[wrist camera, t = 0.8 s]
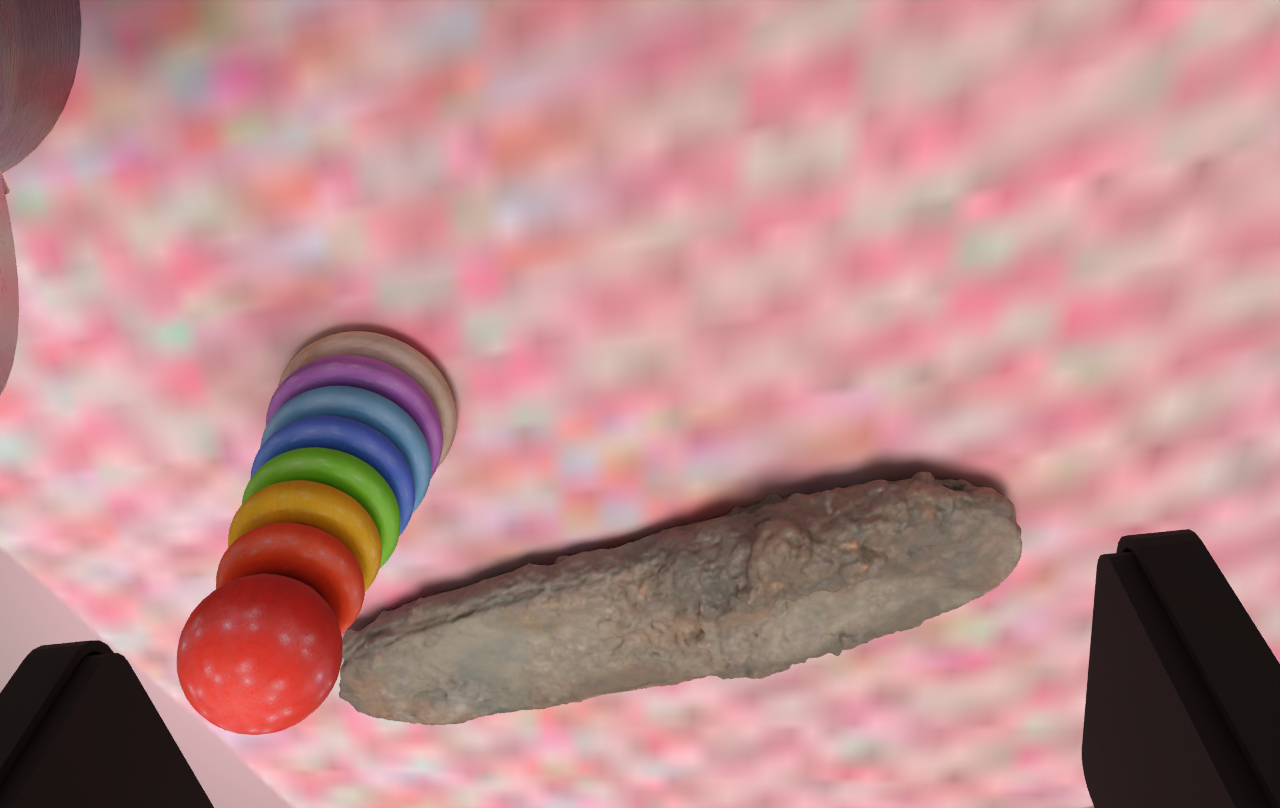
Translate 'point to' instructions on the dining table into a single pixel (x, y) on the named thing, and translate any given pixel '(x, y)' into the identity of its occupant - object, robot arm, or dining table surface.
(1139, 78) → the dining table surface
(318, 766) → the dining table surface
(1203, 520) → the dining table surface
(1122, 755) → the robot arm
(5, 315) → the cooker lid
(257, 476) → the stacking toy
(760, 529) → the elongated rock
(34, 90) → the cooker pot
